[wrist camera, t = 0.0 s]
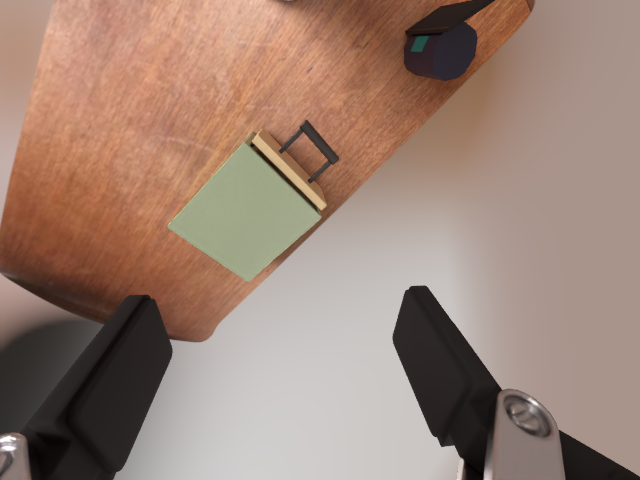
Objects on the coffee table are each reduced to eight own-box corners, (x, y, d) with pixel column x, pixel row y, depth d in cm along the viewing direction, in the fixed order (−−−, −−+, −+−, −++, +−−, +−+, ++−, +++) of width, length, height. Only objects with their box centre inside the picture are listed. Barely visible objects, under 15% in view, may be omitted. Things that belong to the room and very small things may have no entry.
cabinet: (253, 131, 40) (244, 141, 32) (316, 195, 46) (322, 218, 38) (188, 201, 44) (166, 227, 36) (254, 251, 51) (248, 282, 42)
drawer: (289, 98, 38) (289, 100, 31) (346, 165, 43) (357, 179, 37) (200, 195, 43) (184, 214, 36) (261, 243, 49) (257, 267, 42)
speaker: (400, 14, 35) (444, 1, 26) (441, 6, 35) (497, -11, 27) (399, 80, 39) (436, 85, 31) (435, 72, 39) (482, 75, 31)
